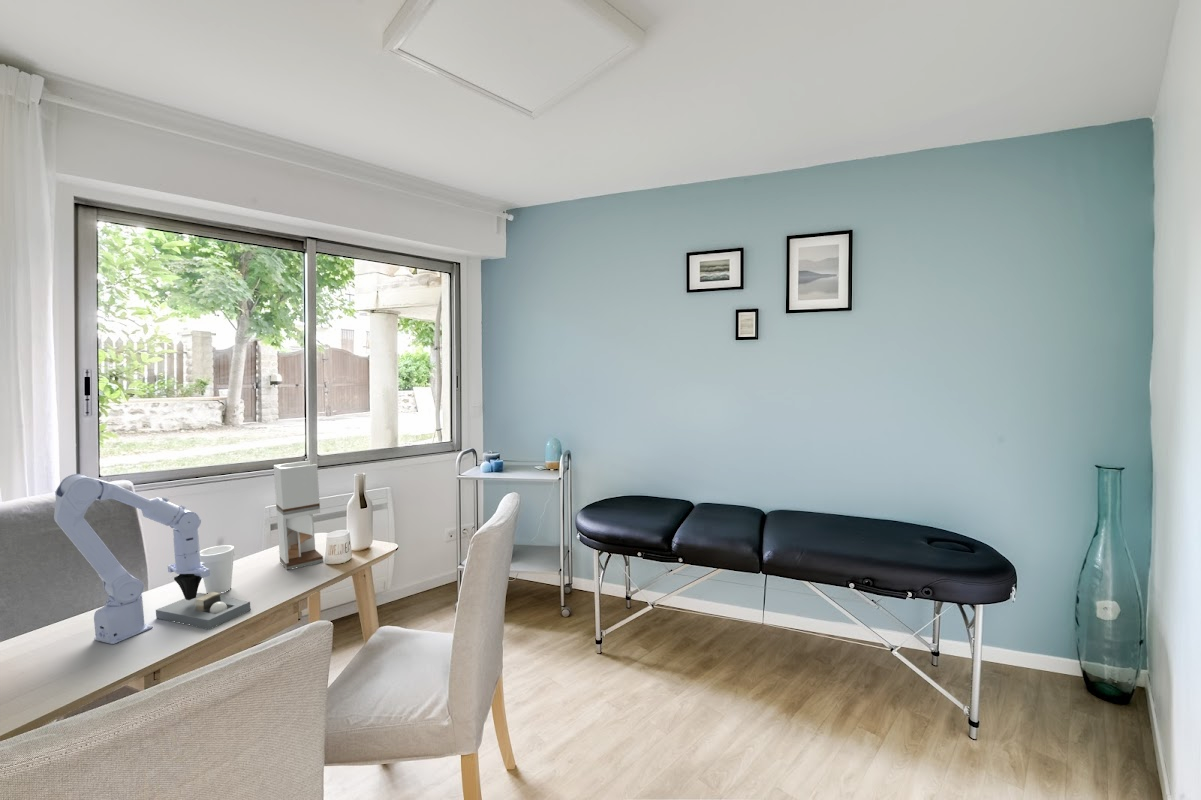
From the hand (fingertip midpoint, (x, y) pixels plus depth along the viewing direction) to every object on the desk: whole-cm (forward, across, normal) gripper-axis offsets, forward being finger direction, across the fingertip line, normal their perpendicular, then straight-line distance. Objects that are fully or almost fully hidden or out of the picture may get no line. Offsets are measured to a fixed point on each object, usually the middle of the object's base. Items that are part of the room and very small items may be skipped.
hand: (190, 598), depth 160 cm
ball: (+2, -11, 0) cm, 11 cm away
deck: (+4, -5, 0) cm, 6 cm away
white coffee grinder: (+4, +3, -40) cm, 40 cm away
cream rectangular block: (+1, -7, 0) cm, 7 cm away
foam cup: (+4, +7, -13) cm, 15 cm away
